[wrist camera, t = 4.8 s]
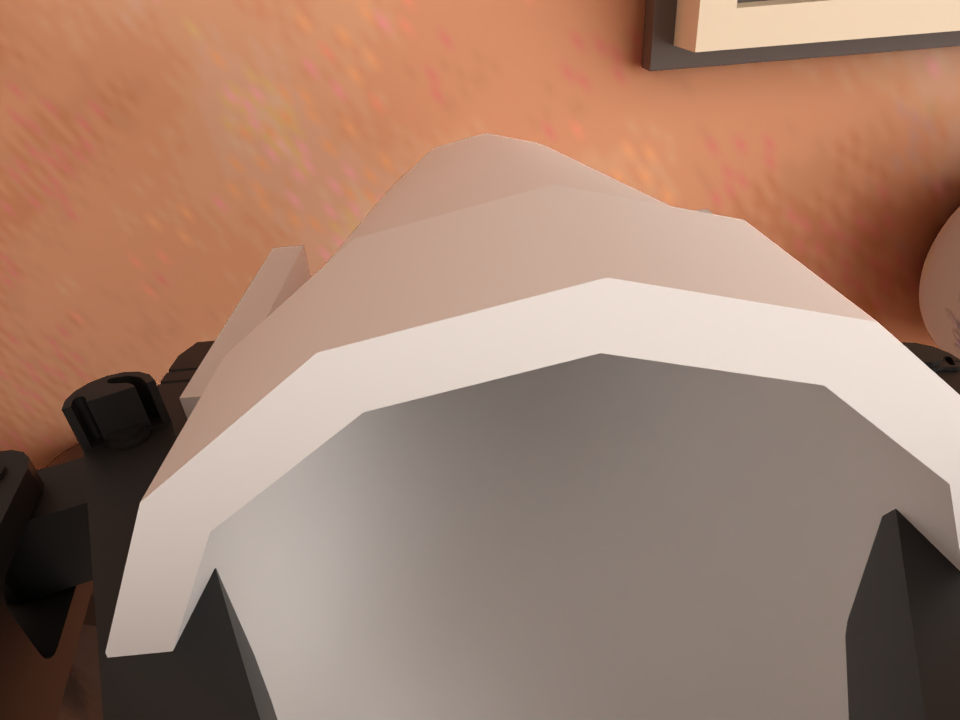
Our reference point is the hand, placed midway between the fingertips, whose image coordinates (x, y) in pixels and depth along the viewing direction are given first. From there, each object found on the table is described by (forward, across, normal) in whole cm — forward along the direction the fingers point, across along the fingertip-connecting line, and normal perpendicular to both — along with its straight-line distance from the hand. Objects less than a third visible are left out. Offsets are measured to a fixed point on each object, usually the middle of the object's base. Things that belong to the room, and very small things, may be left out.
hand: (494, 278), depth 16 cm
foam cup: (+2, 0, 0) cm, 2 cm away
